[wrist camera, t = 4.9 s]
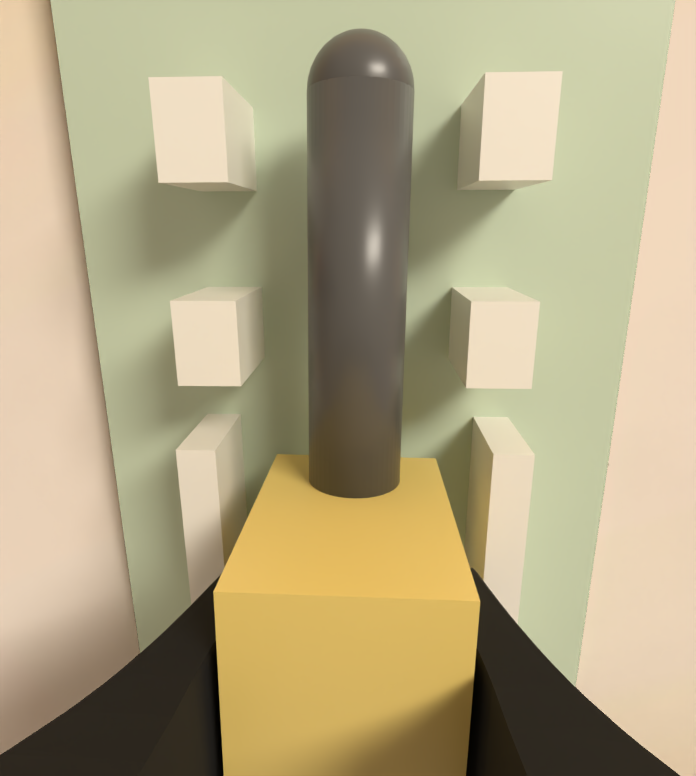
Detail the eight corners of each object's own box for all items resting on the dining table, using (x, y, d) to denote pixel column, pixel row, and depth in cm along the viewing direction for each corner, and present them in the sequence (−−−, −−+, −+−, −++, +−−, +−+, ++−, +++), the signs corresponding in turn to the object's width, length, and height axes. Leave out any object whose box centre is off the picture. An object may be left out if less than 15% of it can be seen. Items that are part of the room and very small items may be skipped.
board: (566, 675, 15) (611, 778, 13) (151, 663, 16) (103, 759, 13) (691, -225, 10) (827, -415, 7) (38, -201, 10) (-91, -368, 7)
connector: (425, 634, 13) (458, 862, 8) (280, 628, 13) (228, 850, 8) (458, 57, 10) (540, -127, 5) (268, 57, 10) (173, -121, 5)
